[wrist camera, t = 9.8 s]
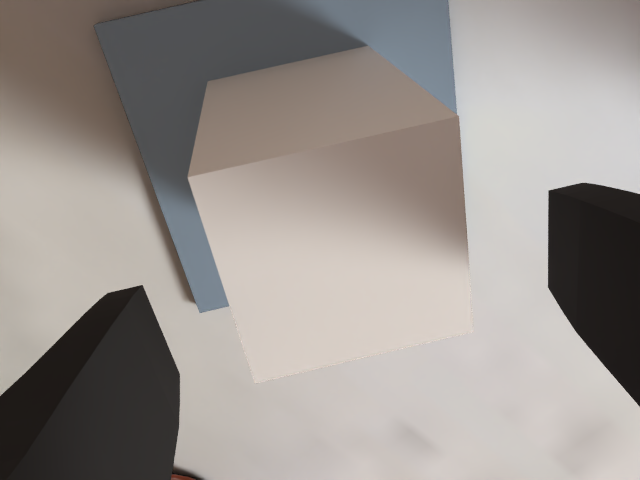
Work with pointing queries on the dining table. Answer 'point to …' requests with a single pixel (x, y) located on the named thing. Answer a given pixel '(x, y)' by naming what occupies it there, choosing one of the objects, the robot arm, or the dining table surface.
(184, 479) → the supplement bottle
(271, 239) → the plug
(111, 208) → the dining table surface
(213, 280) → the mat
